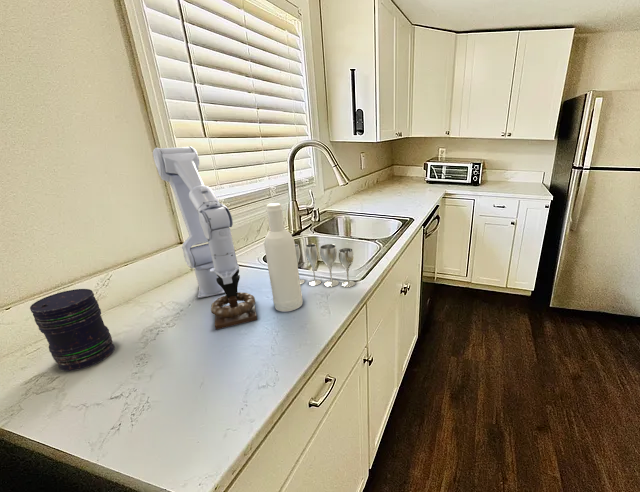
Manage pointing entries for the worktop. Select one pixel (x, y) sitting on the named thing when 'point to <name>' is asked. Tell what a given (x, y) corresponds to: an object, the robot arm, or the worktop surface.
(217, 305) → the ring
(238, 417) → the worktop surface
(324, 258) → the goblet set
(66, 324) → the storage jar
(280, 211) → the bottle
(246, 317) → the brown peg plate
